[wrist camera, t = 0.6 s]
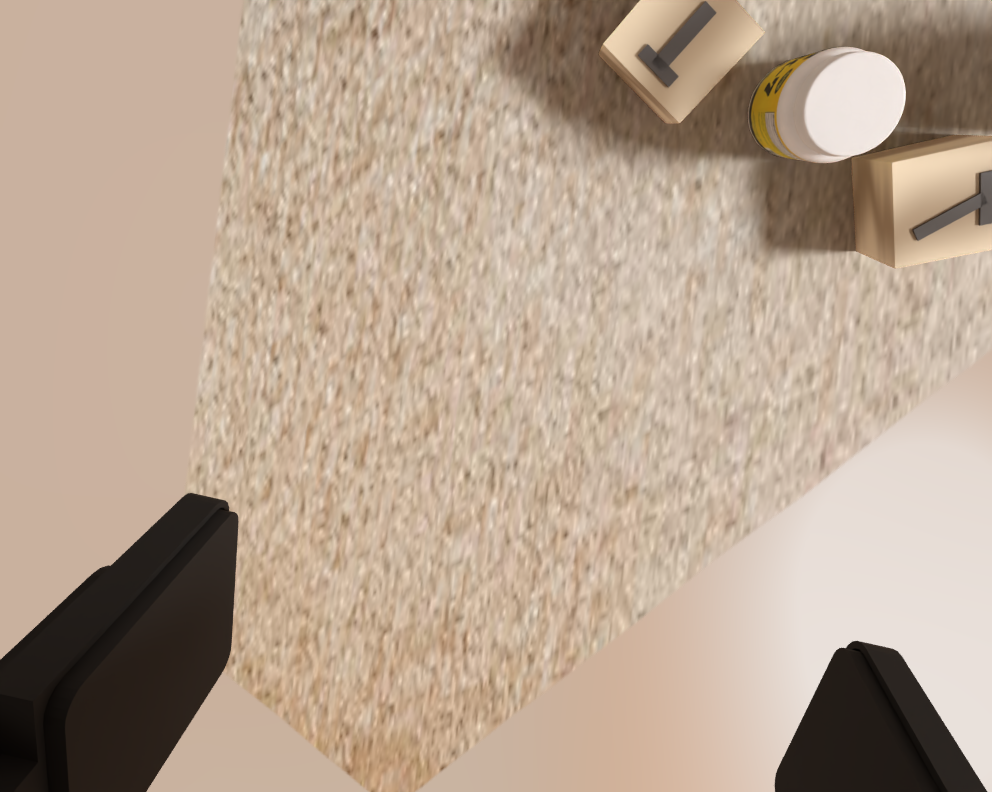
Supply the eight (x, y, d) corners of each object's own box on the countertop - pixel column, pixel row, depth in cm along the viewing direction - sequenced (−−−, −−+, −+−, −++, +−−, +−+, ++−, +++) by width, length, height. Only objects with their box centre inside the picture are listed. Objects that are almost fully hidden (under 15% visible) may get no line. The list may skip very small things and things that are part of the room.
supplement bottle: (819, 38, 34) (894, 13, 26) (856, 125, 36) (936, 124, 28) (729, 93, 36) (775, 84, 28) (767, 175, 37) (821, 188, 29)
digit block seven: (850, 157, 36) (893, 162, 31) (953, 134, 35) (1013, 136, 31) (855, 250, 38) (896, 269, 33) (953, 231, 37) (1010, 247, 32)
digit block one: (598, 54, 36) (603, 43, 31) (670, -30, 34) (687, -56, 29) (665, 123, 36) (680, 123, 32) (738, 44, 35) (766, 31, 30)
